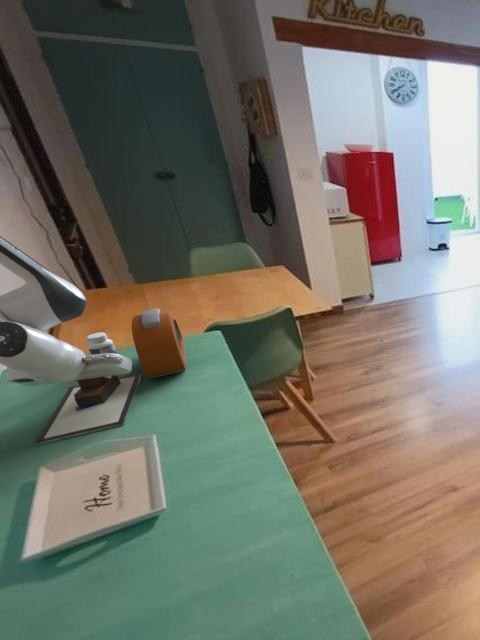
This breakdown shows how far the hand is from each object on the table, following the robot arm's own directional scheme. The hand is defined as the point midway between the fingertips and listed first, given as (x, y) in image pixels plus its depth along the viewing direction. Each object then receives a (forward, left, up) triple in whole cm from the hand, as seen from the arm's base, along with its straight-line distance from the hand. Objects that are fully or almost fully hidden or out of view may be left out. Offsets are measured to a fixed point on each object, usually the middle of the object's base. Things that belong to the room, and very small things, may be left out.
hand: (95, 377), depth 108 cm
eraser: (0, -1, -4) cm, 5 cm away
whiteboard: (-1, -5, -5) cm, 8 cm away
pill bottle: (-2, +20, -5) cm, 20 cm away
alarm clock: (+13, +13, -5) cm, 19 cm away
